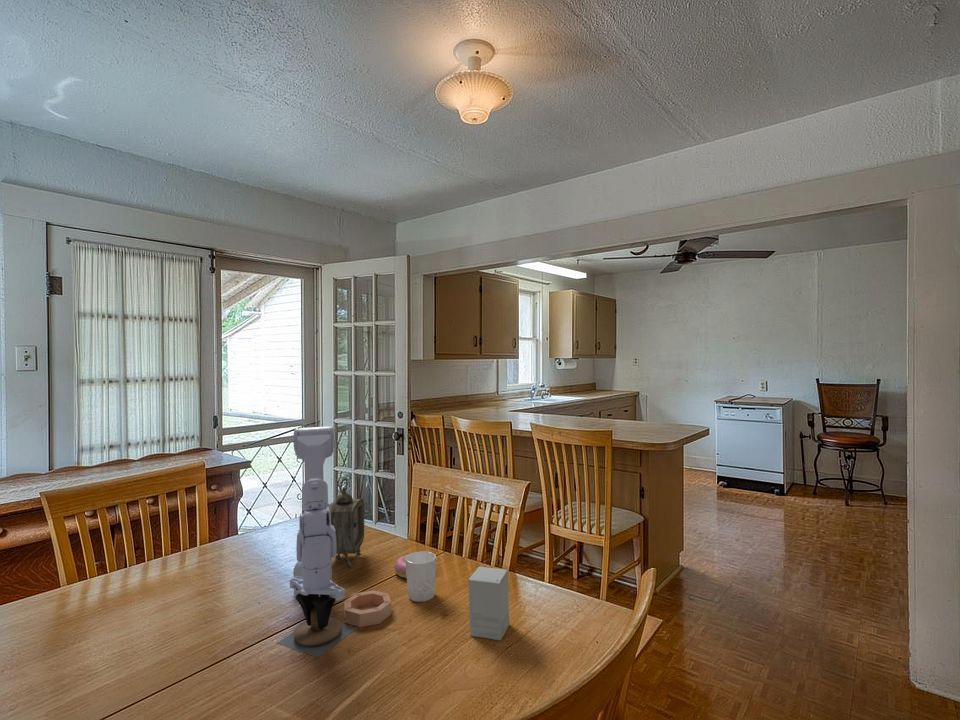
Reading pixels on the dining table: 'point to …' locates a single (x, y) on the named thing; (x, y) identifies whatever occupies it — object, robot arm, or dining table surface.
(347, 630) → the mat
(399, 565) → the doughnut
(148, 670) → the dining table surface
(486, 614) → the supplement box
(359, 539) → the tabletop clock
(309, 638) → the lid
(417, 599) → the white cup
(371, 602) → the bowl
